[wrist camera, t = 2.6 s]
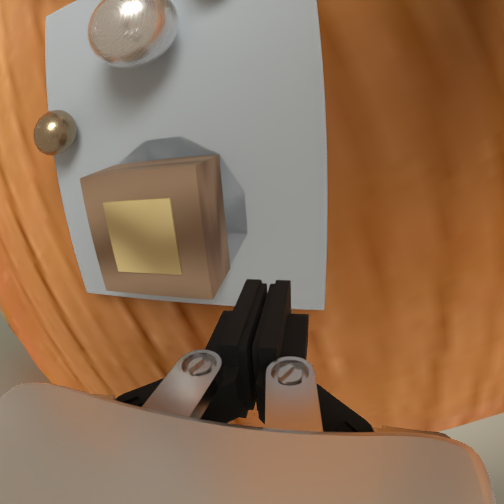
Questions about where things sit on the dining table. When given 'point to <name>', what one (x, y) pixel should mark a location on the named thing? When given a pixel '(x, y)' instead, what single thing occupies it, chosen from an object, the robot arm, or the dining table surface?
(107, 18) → the steel boule
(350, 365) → the dining table surface
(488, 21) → the dining table surface
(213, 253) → the walnut cover
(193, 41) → the hole board
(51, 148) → the bronze ball
